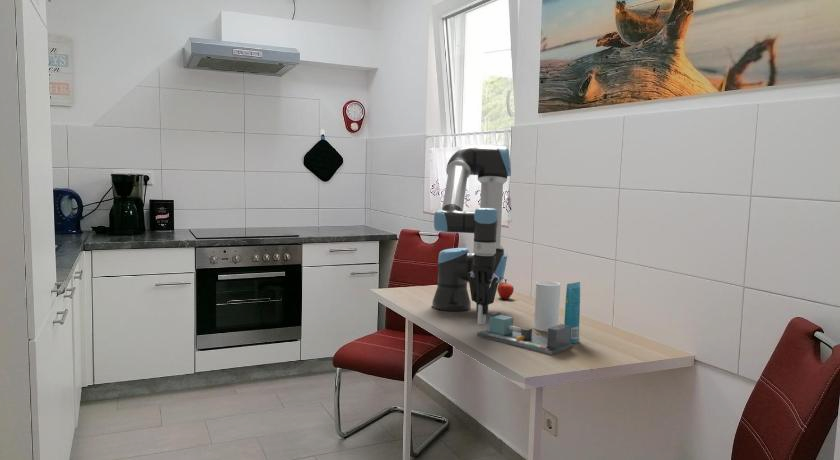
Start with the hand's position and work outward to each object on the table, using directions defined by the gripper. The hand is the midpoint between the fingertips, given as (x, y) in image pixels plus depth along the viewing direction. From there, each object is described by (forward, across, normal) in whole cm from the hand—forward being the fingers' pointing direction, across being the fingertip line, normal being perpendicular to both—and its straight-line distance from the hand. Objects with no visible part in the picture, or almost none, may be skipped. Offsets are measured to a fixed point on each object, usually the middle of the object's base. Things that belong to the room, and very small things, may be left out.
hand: (481, 323), depth 209 cm
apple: (+3, -26, +50) cm, 56 cm away
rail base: (+3, +17, 0) cm, 17 cm away
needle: (+1, +18, -2) cm, 18 cm away
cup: (+3, +13, +20) cm, 24 cm away
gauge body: (+1, +11, 0) cm, 11 cm away
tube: (+3, +27, +12) cm, 30 cm away
